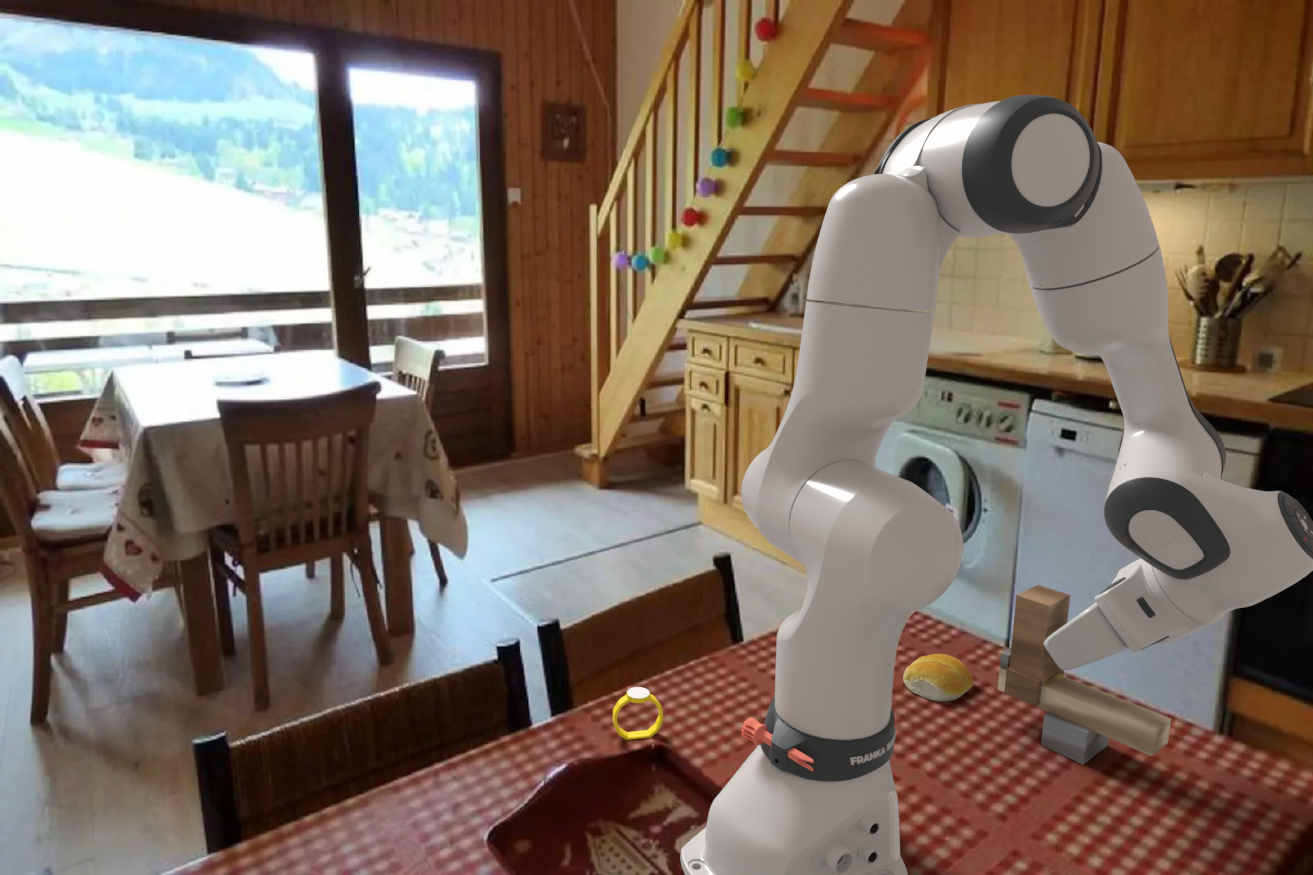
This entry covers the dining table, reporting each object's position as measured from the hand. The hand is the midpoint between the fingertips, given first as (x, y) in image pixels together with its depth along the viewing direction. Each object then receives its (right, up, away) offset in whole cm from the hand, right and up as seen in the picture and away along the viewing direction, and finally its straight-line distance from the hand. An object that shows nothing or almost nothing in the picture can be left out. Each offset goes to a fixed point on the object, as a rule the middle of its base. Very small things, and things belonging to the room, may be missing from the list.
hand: (1061, 648), depth 101 cm
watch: (-50, -11, +3) cm, 51 cm away
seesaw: (+2, -12, 0) cm, 12 cm away
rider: (-2, -6, +4) cm, 7 cm away
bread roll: (-10, -9, +14) cm, 19 cm away
